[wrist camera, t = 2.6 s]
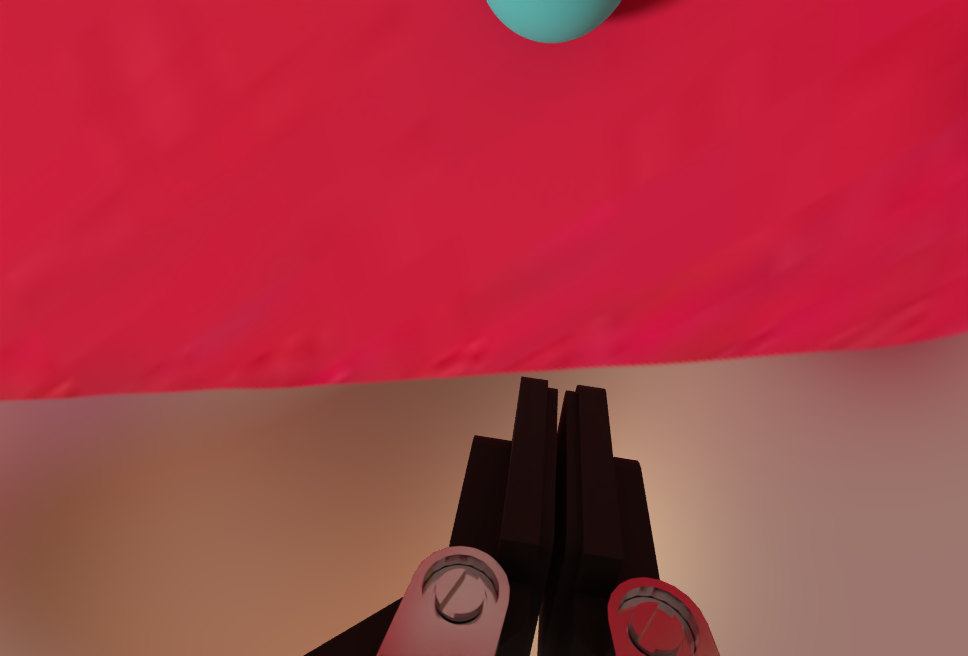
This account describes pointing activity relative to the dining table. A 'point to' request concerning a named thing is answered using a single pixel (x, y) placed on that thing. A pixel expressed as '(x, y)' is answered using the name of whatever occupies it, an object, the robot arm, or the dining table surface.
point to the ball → (553, 17)
